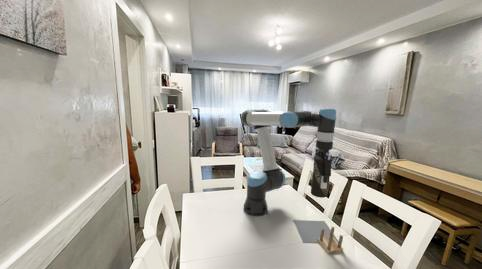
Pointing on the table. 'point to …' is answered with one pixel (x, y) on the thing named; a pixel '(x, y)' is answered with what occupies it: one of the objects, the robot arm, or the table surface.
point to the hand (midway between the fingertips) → (319, 184)
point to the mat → (312, 230)
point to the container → (318, 178)
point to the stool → (330, 242)
